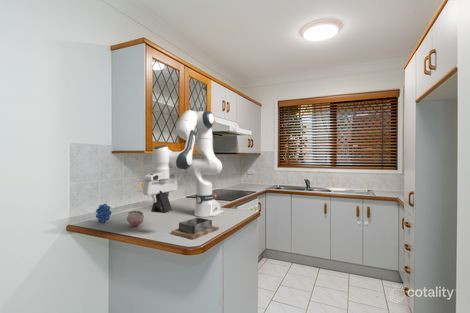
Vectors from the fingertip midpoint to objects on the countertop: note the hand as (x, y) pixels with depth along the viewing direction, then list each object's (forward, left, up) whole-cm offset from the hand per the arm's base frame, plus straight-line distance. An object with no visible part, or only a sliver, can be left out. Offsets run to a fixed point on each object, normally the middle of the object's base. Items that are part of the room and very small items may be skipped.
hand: (161, 201), depth 131 cm
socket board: (-12, +14, -17) cm, 25 cm away
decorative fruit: (+1, -22, -17) cm, 28 cm away
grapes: (+7, -46, -17) cm, 50 cm away
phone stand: (0, 0, -6) cm, 6 cm away
